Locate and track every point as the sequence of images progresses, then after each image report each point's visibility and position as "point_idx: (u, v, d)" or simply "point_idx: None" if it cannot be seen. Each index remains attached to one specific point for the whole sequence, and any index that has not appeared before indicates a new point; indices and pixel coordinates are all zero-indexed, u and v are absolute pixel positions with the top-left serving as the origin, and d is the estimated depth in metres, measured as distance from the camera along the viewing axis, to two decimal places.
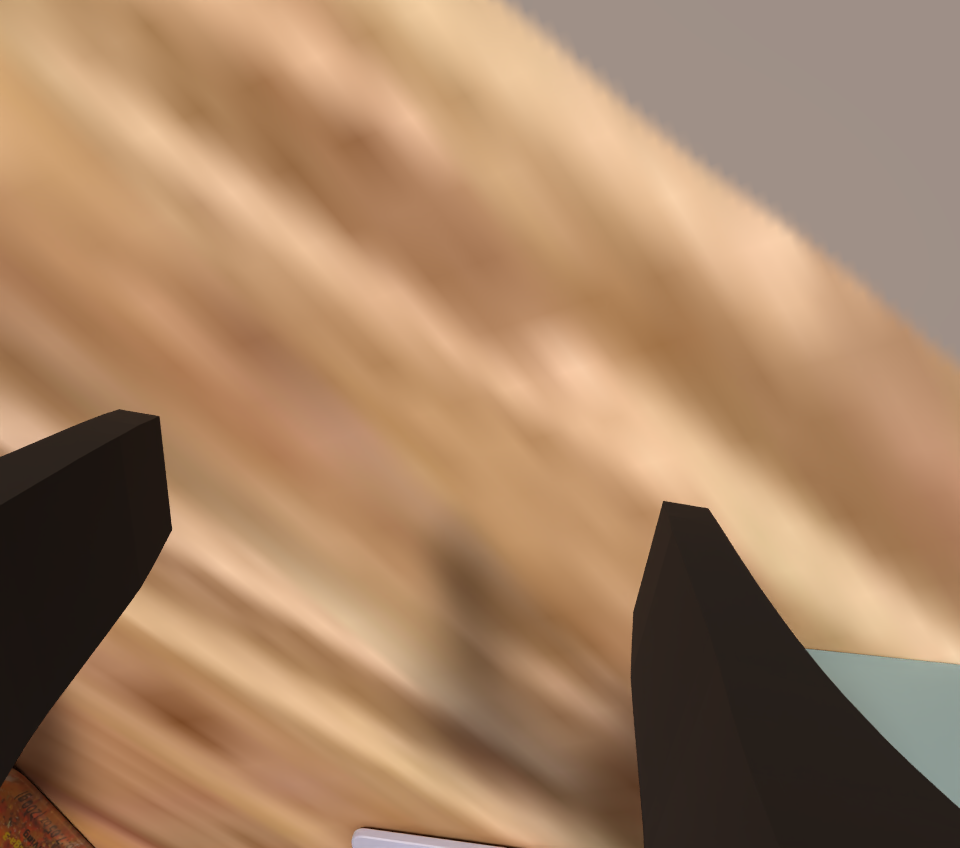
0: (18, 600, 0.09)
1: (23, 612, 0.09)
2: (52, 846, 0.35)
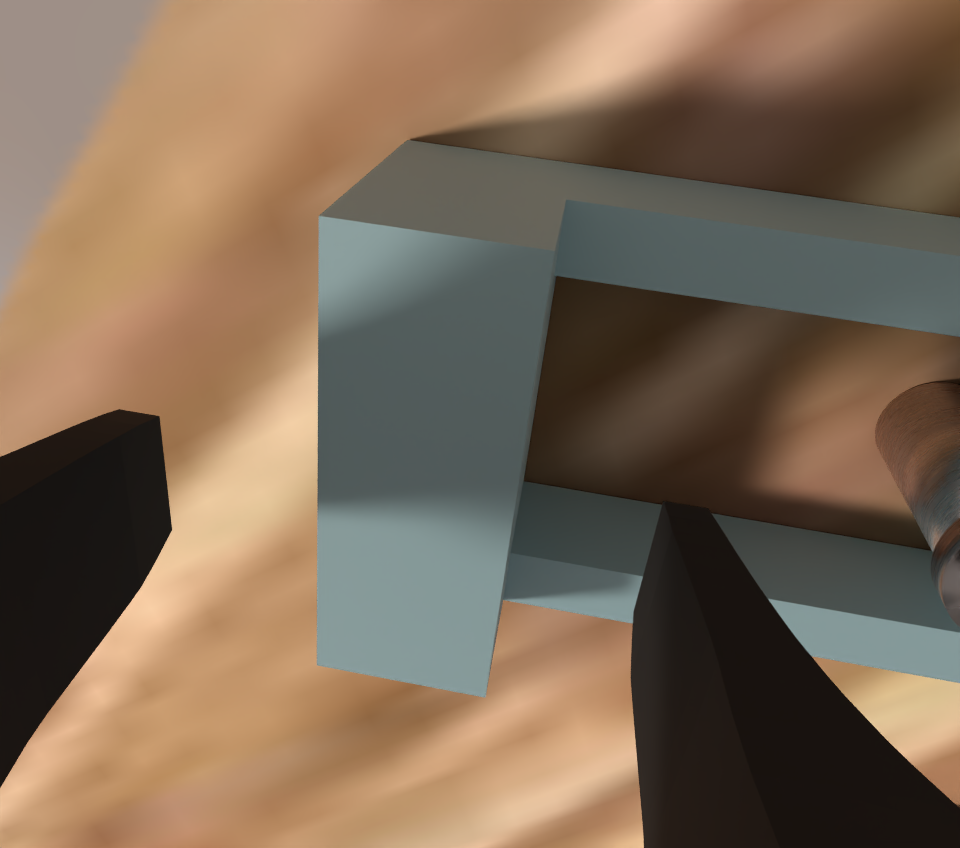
0: (17, 600, 0.09)
1: (23, 612, 0.09)
2: None
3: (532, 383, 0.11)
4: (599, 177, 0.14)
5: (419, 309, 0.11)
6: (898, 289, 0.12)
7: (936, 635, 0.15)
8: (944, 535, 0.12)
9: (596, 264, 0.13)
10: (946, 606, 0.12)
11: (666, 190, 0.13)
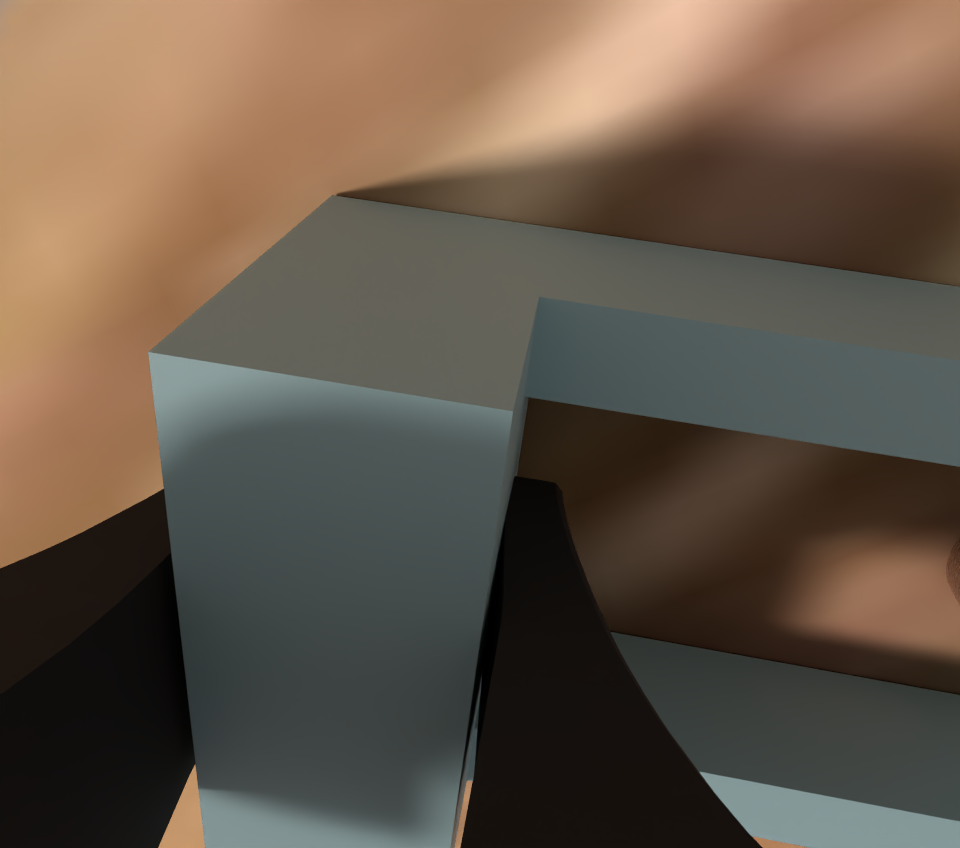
0: None
1: None
2: None
3: (485, 589, 0.07)
4: (588, 251, 0.10)
5: (311, 485, 0.07)
6: None
7: None
8: None
9: (583, 383, 0.09)
10: None
11: (680, 272, 0.10)
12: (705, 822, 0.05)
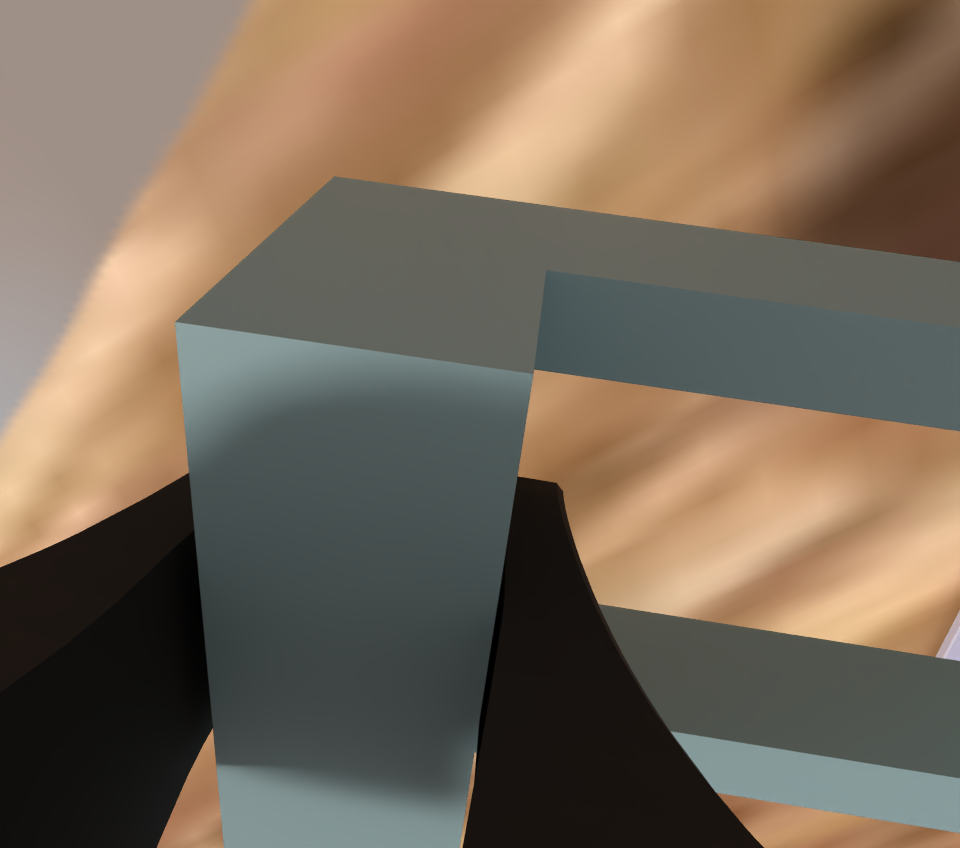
0: (190, 633, 0.09)
1: (193, 644, 0.09)
2: None
3: (503, 550, 0.08)
4: (588, 228, 0.10)
5: (335, 451, 0.07)
6: None
7: None
8: None
9: (588, 354, 0.09)
10: None
11: (678, 247, 0.10)
12: (707, 822, 0.05)
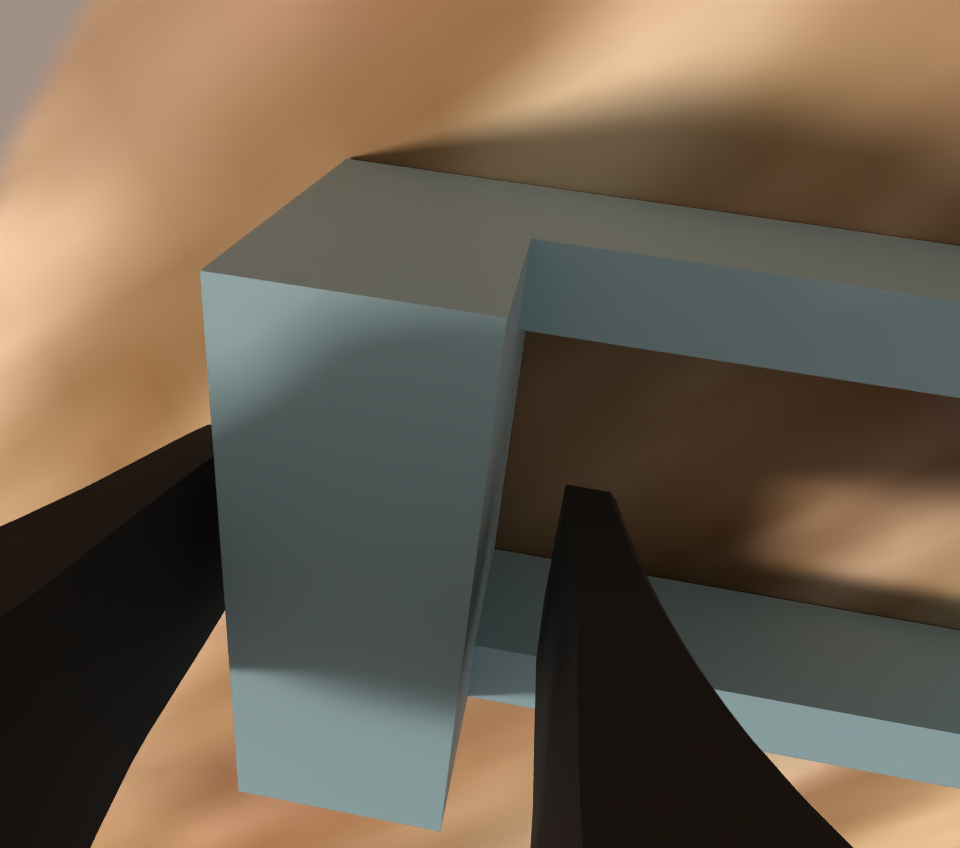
0: (129, 621, 0.09)
1: (133, 633, 0.09)
2: None
3: (483, 480, 0.09)
4: (575, 206, 0.11)
5: (336, 387, 0.08)
6: (945, 350, 0.10)
7: None
8: None
9: (570, 316, 0.10)
10: None
11: (657, 222, 0.11)
12: (816, 844, 0.05)
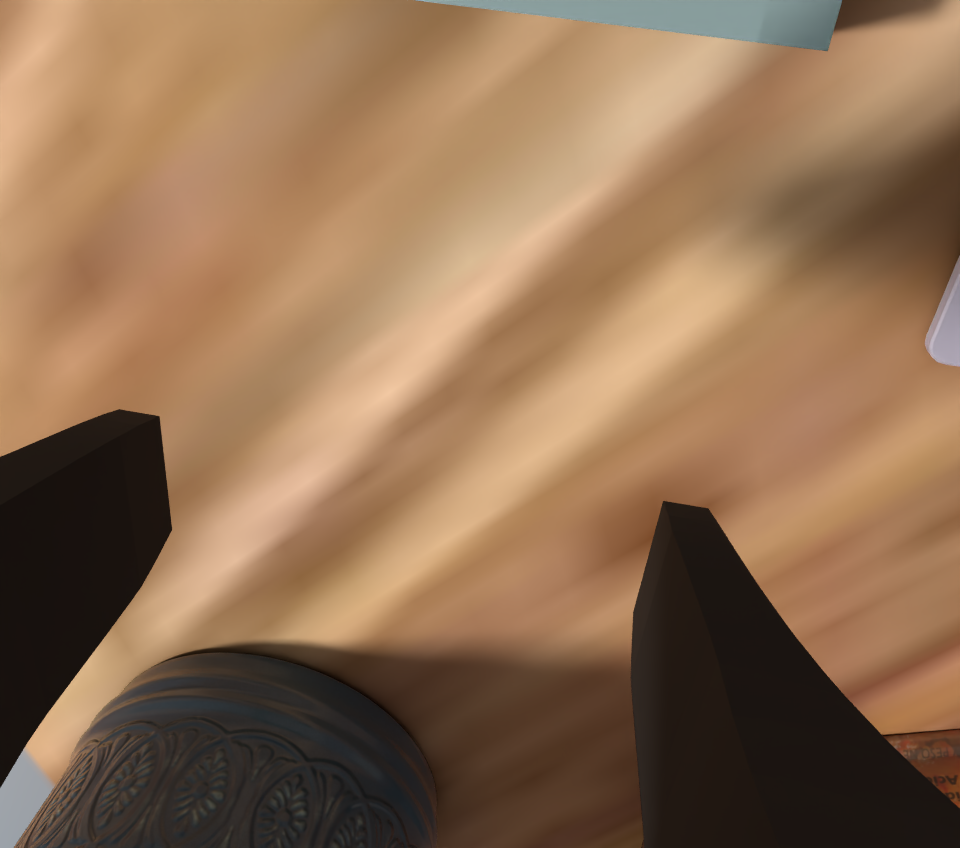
0: (17, 600, 0.09)
1: (23, 612, 0.09)
2: None
3: None
4: None
5: None
6: None
7: None
8: None
9: None
10: None
11: None
12: None
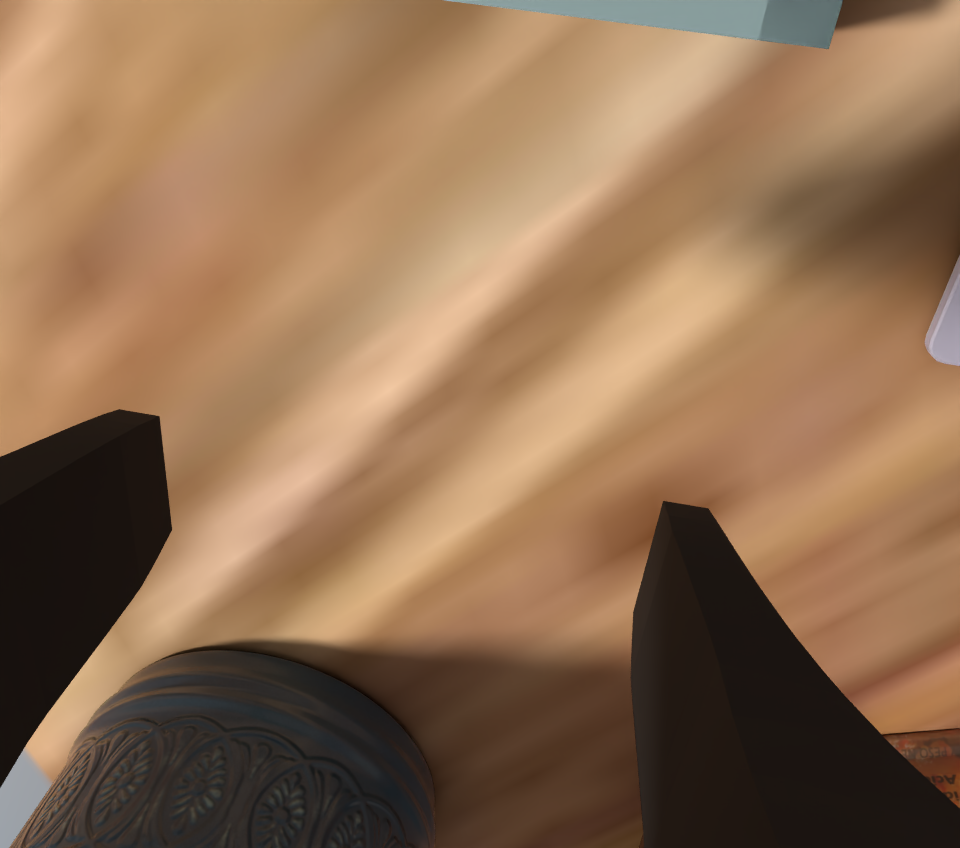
0: (17, 600, 0.09)
1: (23, 612, 0.09)
2: None
3: None
4: None
5: None
6: None
7: None
8: None
9: None
10: None
11: None
12: None
